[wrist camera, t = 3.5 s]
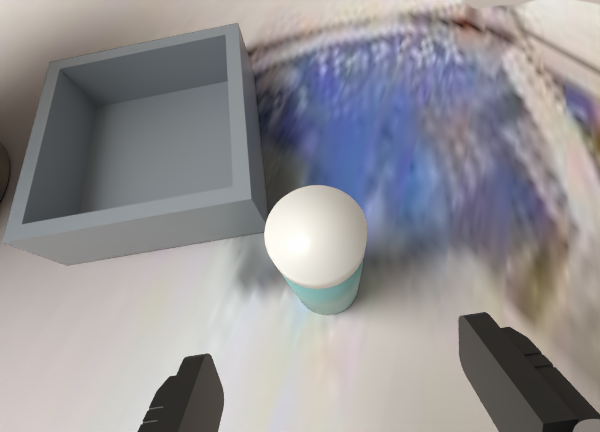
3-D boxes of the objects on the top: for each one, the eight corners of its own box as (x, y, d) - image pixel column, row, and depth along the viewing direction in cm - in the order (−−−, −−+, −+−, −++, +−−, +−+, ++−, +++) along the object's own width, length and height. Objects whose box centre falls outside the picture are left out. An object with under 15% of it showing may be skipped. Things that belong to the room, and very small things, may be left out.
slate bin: (254, 75, 35) (237, 22, 30) (269, 231, 28) (251, 198, 22) (94, 107, 36) (49, 62, 31) (66, 265, 29) (1, 242, 23)
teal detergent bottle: (352, 247, 26) (356, 177, 16) (364, 309, 24) (378, 272, 14) (292, 257, 26) (260, 194, 16) (300, 319, 24) (268, 289, 14)
